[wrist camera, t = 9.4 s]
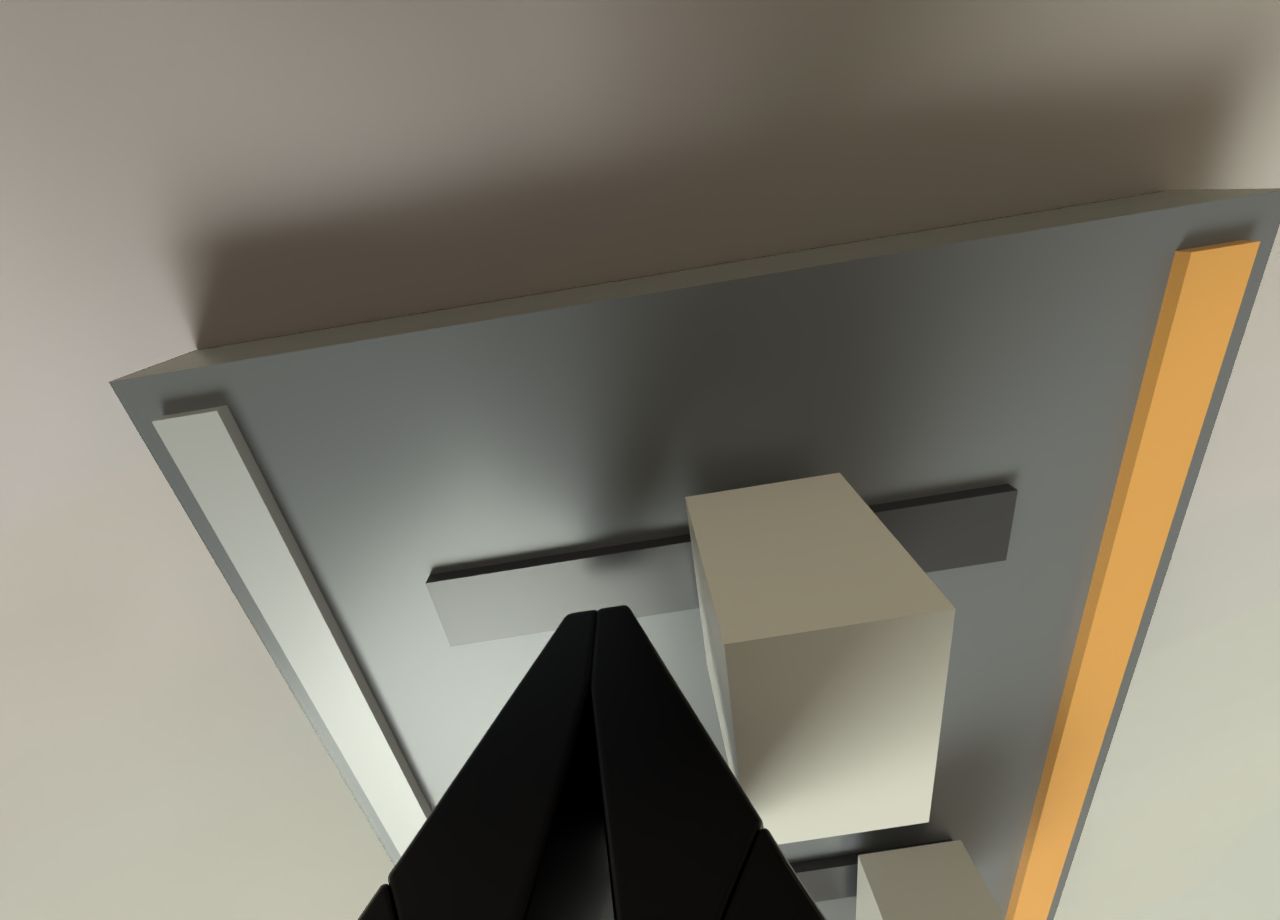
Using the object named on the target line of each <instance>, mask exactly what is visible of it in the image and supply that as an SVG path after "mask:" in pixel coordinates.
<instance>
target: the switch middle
mask: <svg viewBox="0 0 1280 920" xmlns="http://www.w3.org/2000/svg"><path fill="white" fill-rule="evenodd" d="M856 920H1005V919H1004V917H1003V915H1002V913H1001V912H1000V910H999V908H998V906H997V904H996V903H995V901H994V899H993V897H992V895H991V894H990V892H989V890H988V888H987V886H986V885H985V883H984V881H983V879H982V877H981V875H980V874H979V872H978V870H977V868H976V866H975V865H974V863H973V861H972V859H971V857H970V856H969V854H968V852H967V850H966V848H965V847H964V845H963V843H962V841H961V840H956V841H949V842H943V843H936V844H929V845H923V846H916V847H909V848H902V849H896V850H889V851H882V852H876V853H869V854H862V855H858V873H857V900H856Z"/></svg>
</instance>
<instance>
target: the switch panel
mask: <svg viewBox="0 0 1280 920" xmlns="http://www.w3.org/2000/svg"><path fill="white" fill-rule="evenodd" d="M1279 224H1280V189H1217V190H1169V191H1163V192H1157V193H1151V194H1145V195H1139V196H1133V197H1127V198H1121V199H1115V200H1109V201H1102V202H1096V203H1090V204H1084V205H1078V206H1072V207H1066V208H1060V209H1054V210H1048V211H1042V212H1035V213H1029V214H1023V215H1017V216H1011V217H1005V218H999V219H993V220H987V221H981V222H975V223H969V224H962V225H956V226H950V227H944V228H938V229H932V230H926V231H920V232H914V233H908V234H902V235H895V236H889V237H883V238H877V239H871V240H865V241H859V242H853V243H847V244H841V245H835V246H828V247H822V248H816V249H810V250H804V251H798V252H792V253H786V254H780V255H774V256H768V257H761V258H755V259H749V260H743V261H737V262H731V263H725V264H719V265H713V266H707V267H701V268H695V269H688V270H682V271H676V272H670V273H664V274H658V275H652V276H646V277H640V278H634V279H628V280H621V281H615V282H609V283H603V284H597V285H591V286H585V287H579V288H573V289H567V290H561V291H554V292H548V293H542V294H536V295H530V296H524V297H518V298H512V299H506V300H500V301H494V302H487V303H481V304H475V305H469V306H463V307H457V308H451V309H445V310H439V311H433V312H427V313H421V314H414V315H408V316H402V317H396V318H390V319H384V320H378V321H372V322H366V323H360V324H354V325H347V326H341V327H335V328H329V329H323V330H317V331H311V332H305V333H299V334H293V335H287V336H280V337H274V338H268V339H262V340H256V341H250V342H244V343H238V344H232V345H226V346H220V347H214V348H207V349H201V350H195V351H192V352H189V353H186V354H184V355H181V356H178V357H175V358H173V359H170V360H167V361H165V362H162V363H159V364H156V365H154V366H151V367H148V368H146V369H143V370H140V371H137V372H135V373H132V374H129V375H127V376H124V377H121V378H118V379H116V380H113V381H110V382H109V383H110V385H111V386H112V388H113V390H114V391H115V393H116V395H117V397H118V398H119V400H120V402H121V403H122V405H123V407H124V408H125V410H126V412H127V413H128V415H129V417H130V419H131V420H132V422H133V424H134V425H135V427H136V429H137V430H138V432H139V434H140V436H141V437H142V439H143V441H144V442H145V444H146V446H147V447H148V449H149V451H150V452H151V454H152V456H153V458H154V459H155V461H156V463H157V464H158V466H159V468H160V469H161V471H162V473H163V475H164V476H165V478H166V480H167V481H168V483H169V485H170V486H171V488H172V490H173V491H174V493H175V495H176V497H177V498H178V500H179V502H180V503H181V505H182V507H183V508H184V510H185V512H186V513H187V515H188V517H189V519H190V520H191V522H192V524H193V525H194V527H195V529H196V530H197V532H198V534H199V536H200V537H201V539H202V541H203V542H204V544H205V546H206V547H207V549H208V551H209V552H210V554H211V556H212V558H213V559H214V561H215V563H216V564H217V566H218V568H219V569H220V571H221V573H222V574H223V576H224V578H225V580H226V581H227V583H228V585H229V586H230V588H231V590H232V591H233V593H234V595H235V597H236V598H237V600H238V602H239V603H240V605H241V607H242V608H243V610H244V612H245V613H246V615H247V617H248V619H249V620H250V622H251V624H252V625H253V627H254V629H255V630H256V632H257V634H258V635H259V637H260V639H261V641H262V642H263V644H264V646H265V647H266V649H267V651H268V652H269V654H270V656H271V658H272V659H273V661H274V663H275V664H276V666H277V668H278V669H279V671H280V673H281V674H282V676H283V678H284V680H285V681H286V683H287V685H288V686H289V688H290V690H291V691H292V693H293V695H294V697H295V698H296V700H297V702H298V703H299V705H300V707H301V708H302V710H303V712H304V713H305V715H306V717H307V719H308V720H309V722H310V724H311V725H312V727H313V729H314V730H315V732H316V734H317V735H318V737H319V739H320V741H321V742H322V744H323V746H324V747H325V749H326V751H327V752H328V754H329V756H330V758H331V759H332V761H333V763H334V764H335V766H336V768H337V769H338V771H339V773H340V774H341V776H342V778H343V780H344V781H345V783H346V785H347V786H348V788H349V790H350V791H351V793H352V795H353V796H354V798H355V800H356V802H357V803H358V805H359V807H360V808H361V810H362V812H363V813H364V815H365V817H366V819H367V820H368V822H369V824H370V825H371V827H372V829H373V830H374V832H375V834H376V835H377V837H378V839H379V841H380V842H381V844H382V846H383V847H384V849H385V851H386V852H387V854H388V856H389V858H390V859H391V861H392V863H393V864H394V866H395V865H396V863H397V862H398V861H399V859H400V858H401V856H402V855H403V853H404V852H405V850H406V849H407V847H408V846H409V844H410V843H411V842H412V840H413V839H414V837H415V836H416V834H417V833H418V831H419V830H420V828H421V827H422V825H423V824H424V822H425V821H426V820H427V818H428V817H429V815H430V814H431V812H432V811H433V809H434V808H435V806H436V805H437V803H438V802H439V801H440V799H441V798H442V796H443V795H444V793H445V792H446V790H447V789H448V787H449V786H450V784H451V783H452V782H453V780H454V779H455V777H456V776H457V774H458V773H459V771H460V770H461V768H462V767H463V765H464V764H465V762H466V761H467V760H468V758H469V757H470V755H471V754H472V752H473V751H474V749H475V748H476V746H477V745H478V743H479V742H480V741H481V739H482V738H483V736H484V735H485V733H486V732H487V730H488V729H489V727H490V726H491V724H492V723H493V721H494V720H495V719H496V717H497V716H498V714H499V713H500V711H501V710H502V708H503V707H504V705H505V704H506V702H507V701H508V700H509V698H510V697H511V695H512V694H513V692H514V691H515V689H516V688H517V686H518V685H519V683H520V682H521V680H522V679H523V678H524V676H525V675H526V673H527V672H528V670H529V669H530V667H531V666H532V664H533V663H534V661H535V660H536V659H537V657H538V656H539V654H540V653H541V651H542V650H543V648H544V647H545V645H546V644H547V642H548V641H549V639H550V638H551V637H552V635H553V634H554V632H555V631H556V629H557V628H558V626H559V625H560V623H561V622H562V620H563V619H564V618H565V616H567V615H568V614H570V613H575V612H581V611H588V610H597V611H598V610H599V609H601V608H607V607H614V606H620V605H626V606H628V607H629V608H630V609H631V610H632V612H633V614H634V615H635V617H636V618H637V620H638V622H639V623H640V625H641V627H642V628H643V630H644V631H645V633H646V635H647V636H648V638H649V639H650V641H651V643H652V644H653V646H654V647H655V649H656V651H657V652H658V654H659V655H660V657H661V659H662V660H663V662H664V663H665V665H666V667H667V668H668V670H669V671H670V673H671V675H672V676H673V678H674V680H675V681H676V683H677V684H678V686H679V688H680V689H681V691H682V692H683V694H684V696H685V697H686V699H687V700H688V702H689V704H690V705H691V707H692V708H693V710H694V712H695V713H696V715H697V716H698V718H699V720H700V721H701V723H702V724H703V726H704V728H705V729H706V731H707V732H708V734H709V736H710V737H711V739H712V741H713V742H714V744H715V745H716V747H717V749H718V750H719V752H720V753H721V755H722V757H723V758H724V760H725V761H726V763H727V765H728V766H729V764H728V760H727V755H726V751H725V746H724V741H723V737H722V732H721V728H720V723H719V718H718V714H717V709H716V704H715V700H714V695H713V691H712V686H711V681H710V677H709V672H708V667H707V660H706V652H705V645H704V637H703V629H702V622H701V614H700V607H699V599H698V591H697V584H696V576H695V568H694V561H693V553H692V546H691V538H690V530H689V523H688V515H687V507H686V500H685V497H689V496H695V495H701V494H708V493H714V492H720V491H727V490H733V489H739V488H746V487H752V486H758V485H764V484H771V483H777V482H783V481H790V480H796V479H802V478H809V477H815V476H821V475H828V474H834V473H840V474H841V475H842V476H843V477H844V478H845V479H846V481H847V482H848V483H849V484H850V485H851V487H852V488H853V489H854V490H855V491H856V492H857V494H858V495H859V496H860V497H861V498H862V499H863V501H864V502H865V503H866V504H867V505H868V506H869V508H870V509H871V510H872V511H873V512H874V513H875V515H876V516H877V517H878V518H879V519H880V520H881V522H882V523H883V524H884V525H885V526H886V528H887V529H888V530H889V531H890V532H891V533H892V535H893V536H894V537H895V538H896V539H897V540H898V542H899V543H900V544H901V545H902V546H903V547H904V549H905V550H906V551H907V552H908V553H909V554H910V556H911V557H912V558H913V559H914V560H915V561H916V563H917V564H918V565H919V566H920V567H921V569H922V570H923V571H924V572H925V573H926V574H927V576H928V577H929V578H930V579H931V580H932V581H933V583H934V584H935V585H936V586H937V587H938V588H939V590H940V591H941V592H942V593H943V594H944V595H945V597H946V598H947V599H948V600H949V601H950V602H951V604H952V605H953V606H954V607H955V608H956V610H955V618H954V626H953V634H952V642H951V650H950V658H949V666H948V674H947V682H946V690H945V697H944V705H943V713H942V721H941V729H940V737H939V745H938V753H937V761H936V769H935V777H934V785H933V793H932V801H931V809H930V817H929V822H927V823H920V824H913V825H907V826H900V827H893V828H887V829H880V830H873V831H867V832H860V833H853V834H846V835H840V836H833V837H826V838H820V839H813V840H806V841H800V842H793V843H786V844H779V845H778V846H779V847H780V849H781V850H782V852H783V854H784V855H785V857H786V858H787V860H788V862H789V863H790V865H791V866H792V868H793V870H794V871H795V873H796V874H797V876H798V877H799V879H800V880H801V882H802V883H803V885H804V886H805V888H806V889H807V891H808V892H809V894H810V895H811V897H812V898H813V900H814V901H815V903H816V904H817V906H818V907H819V909H820V910H821V912H822V913H823V915H824V916H825V918H826V919H827V920H856V900H857V873H858V855H862V854H869V853H876V852H882V851H889V850H896V849H902V848H909V847H916V846H923V845H929V844H936V843H943V842H949V841H956V840H961V841H962V843H963V845H964V847H965V848H966V850H967V852H968V854H969V856H970V857H971V859H972V861H973V863H974V865H975V866H976V868H977V870H978V872H979V874H980V875H981V877H982V879H983V881H984V883H985V885H986V886H987V888H988V890H989V892H990V894H991V895H992V897H993V899H994V901H995V903H996V904H997V906H998V908H999V910H1000V912H1001V913H1002V915H1003V917H1004V919H1005V920H1053V919H1054V916H1055V913H1056V910H1057V907H1058V904H1059V901H1060V898H1061V895H1062V891H1063V888H1064V885H1065V882H1066V879H1067V876H1068V873H1069V870H1070V867H1071V864H1072V861H1073V858H1074V855H1075V851H1076V848H1077V845H1078V842H1079V839H1080V836H1081V833H1082V830H1083V827H1084V824H1085V821H1086V818H1087V815H1088V812H1089V808H1090V805H1091V802H1092V799H1093V796H1094V793H1095V790H1096V787H1097V784H1098V781H1099V778H1100V775H1101V772H1102V768H1103V765H1104V762H1105V759H1106V756H1107V753H1108V750H1109V747H1110V744H1111V741H1112V738H1113V735H1114V732H1115V729H1116V725H1117V722H1118V719H1119V716H1120V713H1121V710H1122V707H1123V704H1124V701H1125V698H1126V695H1127V692H1128V689H1129V685H1130V682H1131V679H1132V676H1133V673H1134V670H1135V667H1136V664H1137V661H1138V658H1139V655H1140V652H1141V649H1142V646H1143V642H1144V639H1145V636H1146V633H1147V630H1148V627H1149V624H1150V621H1151V618H1152V615H1153V612H1154V609H1155V606H1156V602H1157V599H1158V596H1159V593H1160V590H1161V587H1162V584H1163V581H1164V578H1165V575H1166V572H1167V569H1168V566H1169V563H1170V559H1171V556H1172V553H1173V550H1174V547H1175V544H1176V541H1177V538H1178V535H1179V532H1180V529H1181V526H1182V523H1183V519H1184V516H1185V513H1186V510H1187V507H1188V504H1189V501H1190V498H1191V495H1192V492H1193V489H1194V486H1195V483H1196V480H1197V476H1198V473H1199V470H1200V467H1201V464H1202V461H1203V458H1204V455H1205V452H1206V449H1207V446H1208V443H1209V440H1210V436H1211V433H1212V430H1213V427H1214V424H1215V421H1216V418H1217V415H1218V412H1219V409H1220V406H1221V403H1222V400H1223V397H1224V393H1225V390H1226V387H1227V384H1228V381H1229V378H1230V375H1231V372H1232V369H1233V366H1234V363H1235V360H1236V357H1237V353H1238V350H1239V347H1240V344H1241V341H1242V338H1243V335H1244V332H1245V329H1246V326H1247V323H1248V320H1249V317H1250V314H1251V310H1252V307H1253V304H1254V301H1255V298H1256V295H1257V292H1258V289H1259V286H1260V283H1261V280H1262V277H1263V274H1264V270H1265V267H1266V264H1267V261H1268V258H1269V255H1270V252H1271V249H1272V246H1273V243H1274V240H1275V237H1276V234H1277V231H1278V227H1279Z"/></svg>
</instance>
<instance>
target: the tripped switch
mask: <svg viewBox="0 0 1280 920" xmlns="http://www.w3.org/2000/svg"><path fill="white" fill-rule="evenodd" d="M685 500H686V507H687V515H688V523H689V530H690V538H691V546H692V553H693V561H694V568H695V576H696V584H697V591H698V599H699V607H700V614H701V622H702V629H703V637H704V645H705V652H706V660H707V667H708V672H709V677H710V681H711V686H712V691H713V695H714V700H715V704H716V709H717V714H718V718H719V723H720V728H721V732H722V737H723V741H724V746H725V751H726V755H727V760H728V764H729V768H730V769H731V771H732V773H733V774H734V776H735V777H736V779H737V781H738V782H739V784H740V785H741V787H742V789H743V790H744V792H745V794H746V795H747V797H748V798H749V800H750V802H751V803H752V805H753V806H754V808H755V810H756V811H757V813H758V814H759V816H760V818H761V819H762V821H763V826H764V828H766V829H768V830H769V831H770V833H771V834H772V836H773V838H774V839H775V841H776V842H777V844H778V845H779V844H786V843H793V842H800V841H806V840H813V839H820V838H826V837H833V836H840V835H846V834H853V833H860V832H867V831H873V830H880V829H887V828H893V827H900V826H907V825H913V824H920V823H927V822H929V817H930V809H931V801H932V793H933V785H934V777H935V769H936V761H937V753H938V745H939V737H940V729H941V721H942V713H943V705H944V697H945V690H946V682H947V674H948V666H949V658H950V650H951V642H952V634H953V626H954V618H955V610H956V608H955V607H954V606H953V605H952V604H951V602H950V601H949V600H948V599H947V598H946V597H945V595H944V594H943V593H942V592H941V591H940V590H939V588H938V587H937V586H936V585H935V584H934V583H933V581H932V580H931V579H930V578H929V577H928V576H927V574H926V573H925V572H924V571H923V570H922V569H921V567H920V566H919V565H918V564H917V563H916V561H915V560H914V559H913V558H912V557H911V556H910V554H909V553H908V552H907V551H906V550H905V549H904V547H903V546H902V545H901V544H900V543H899V542H898V540H897V539H896V538H895V537H894V536H893V535H892V533H891V532H890V531H889V530H888V529H887V528H886V526H885V525H884V524H883V523H882V522H881V520H880V519H879V518H878V517H877V516H876V515H875V513H874V512H873V511H872V510H871V509H870V508H869V506H868V505H867V504H866V503H865V502H864V501H863V499H862V498H861V497H860V496H859V495H858V494H857V492H856V491H855V490H854V489H853V488H852V487H851V485H850V484H849V483H848V482H847V481H846V479H845V478H844V477H843V476H842V475H841V474H840V473H834V474H828V475H821V476H815V477H809V478H802V479H796V480H790V481H783V482H777V483H771V484H764V485H758V486H752V487H746V488H739V489H733V490H727V491H720V492H714V493H708V494H701V495H695V496H689V497H685Z"/></svg>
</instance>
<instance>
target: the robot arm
mask: <svg viewBox="0 0 1280 920" xmlns="http://www.w3.org/2000/svg"><path fill="white" fill-rule="evenodd" d="M388 882H389V884H383V885H381V886H380V888H379V889H378V891H377V892H376V894H375V895H374V897H373V898H372V900H371V901H370V902H369V904H368V905H367V907H366V908H365V910H364V911H363V913H362V914H361V916H360V917H359V919H358V920H827V919H826V918H825V916H824V915H823V913H822V912H821V910H820V909H819V907H818V906H817V904H816V903H815V901H814V900H813V898H812V897H811V895H810V894H809V892H808V891H807V889H806V888H805V886H804V885H803V883H802V882H801V880H800V879H799V877H798V876H797V874H796V873H795V871H794V870H793V868H792V866H791V865H790V863H789V862H788V860H787V858H786V857H785V855H784V854H783V852H782V850H781V849H780V847H779V846H778V844H777V842H776V841H775V839H774V838H773V836H772V834H771V833H770V831H769V830H768V829H766V828H764V826H763V821H762V819H761V818H760V816H759V814H758V813H757V811H756V810H755V808H754V806H753V805H752V803H751V802H750V800H749V798H748V797H747V795H746V794H745V792H744V790H743V789H742V787H741V785H740V784H739V782H738V781H737V779H736V777H735V776H734V774H733V773H732V771H731V769H730V768H729V766H728V765H727V763H726V761H725V760H724V758H723V757H722V755H721V753H720V752H719V750H718V749H717V747H716V745H715V744H714V742H713V741H712V739H711V737H710V736H709V734H708V732H707V731H706V729H705V728H704V726H703V724H702V723H701V721H700V720H699V718H698V716H697V715H696V713H695V712H694V710H693V708H692V707H691V705H690V704H689V702H688V700H687V699H686V697H685V696H684V694H683V692H682V691H681V689H680V688H679V686H678V684H677V683H676V681H675V680H674V678H673V676H672V675H671V673H670V671H669V670H668V668H667V667H666V665H665V663H664V662H663V660H662V659H661V657H660V655H659V654H658V652H657V651H656V649H655V647H654V646H653V644H652V643H651V641H650V639H649V638H648V636H647V635H646V633H645V631H644V630H643V628H642V627H641V625H640V623H639V622H638V620H637V618H636V617H635V615H634V614H633V612H632V610H631V609H630V608H629V607H628V606H626V605H620V606H614V607H607V608H601V609H599V610H598V611H597V610H588V611H581V612H575V613H570V614H568V615H567V616H565V618H564V619H563V620H562V622H561V623H560V625H559V626H558V628H557V629H556V631H555V632H554V634H553V635H552V637H551V638H550V639H549V641H548V642H547V644H546V645H545V647H544V648H543V650H542V651H541V653H540V654H539V656H538V657H537V659H536V660H535V661H534V663H533V664H532V666H531V667H530V669H529V670H528V672H527V673H526V675H525V676H524V678H523V679H522V680H521V682H520V683H519V685H518V686H517V688H516V689H515V691H514V692H513V694H512V695H511V697H510V698H509V700H508V701H507V702H506V704H505V705H504V707H503V708H502V710H501V711H500V713H499V714H498V716H497V717H496V719H495V720H494V721H493V723H492V724H491V726H490V727H489V729H488V730H487V732H486V733H485V735H484V736H483V738H482V739H481V741H480V742H479V743H478V745H477V746H476V748H475V749H474V751H473V752H472V754H471V755H470V757H469V758H468V760H467V761H466V762H465V764H464V765H463V767H462V768H461V770H460V771H459V773H458V774H457V776H456V777H455V779H454V780H453V782H452V783H451V784H450V786H449V787H448V789H447V790H446V792H445V793H444V795H443V796H442V798H441V799H440V801H439V802H438V803H437V805H436V806H435V808H434V809H433V811H432V812H431V814H430V815H429V817H428V818H427V820H426V821H425V822H424V824H423V825H422V827H421V828H420V830H419V831H418V833H417V834H416V836H415V837H414V839H413V840H412V842H411V843H410V844H409V846H408V847H407V849H406V850H405V852H404V853H403V855H402V856H401V858H400V859H399V861H398V862H397V863H396V865H395V866H394V868H393V869H392V871H391V872H390V874H389V876H388Z"/></svg>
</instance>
